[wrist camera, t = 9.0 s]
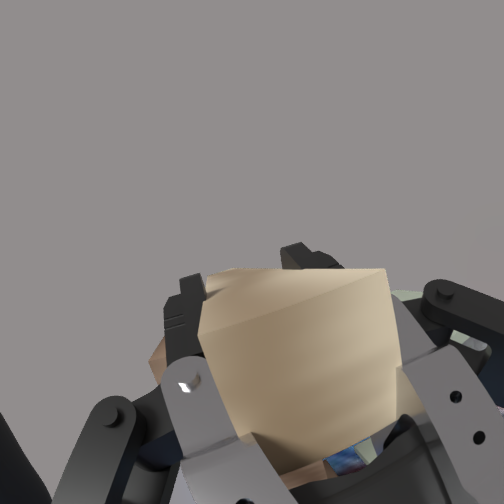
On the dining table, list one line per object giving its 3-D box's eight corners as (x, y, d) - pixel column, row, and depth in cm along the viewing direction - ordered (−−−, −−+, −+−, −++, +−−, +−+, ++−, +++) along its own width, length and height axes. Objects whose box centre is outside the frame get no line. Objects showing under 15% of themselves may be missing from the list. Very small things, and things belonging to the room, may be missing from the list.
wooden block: (260, 481, 4) (198, 335, 4) (215, 300, 31) (207, 275, 31) (406, 414, 4) (384, 268, 4) (240, 293, 32) (232, 268, 32)
